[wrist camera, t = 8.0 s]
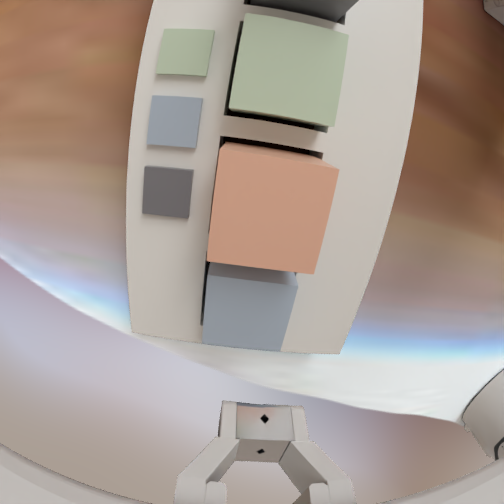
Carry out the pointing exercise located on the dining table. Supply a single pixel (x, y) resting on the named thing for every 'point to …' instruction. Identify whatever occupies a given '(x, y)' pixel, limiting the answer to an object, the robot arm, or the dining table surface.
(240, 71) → the key sage
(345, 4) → the key charcoal
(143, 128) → the keypad
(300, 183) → the key terracotta
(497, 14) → the coffee box
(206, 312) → the key slate
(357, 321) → the dining table surface
